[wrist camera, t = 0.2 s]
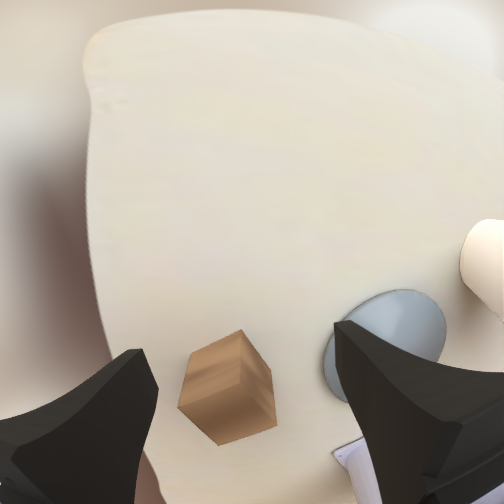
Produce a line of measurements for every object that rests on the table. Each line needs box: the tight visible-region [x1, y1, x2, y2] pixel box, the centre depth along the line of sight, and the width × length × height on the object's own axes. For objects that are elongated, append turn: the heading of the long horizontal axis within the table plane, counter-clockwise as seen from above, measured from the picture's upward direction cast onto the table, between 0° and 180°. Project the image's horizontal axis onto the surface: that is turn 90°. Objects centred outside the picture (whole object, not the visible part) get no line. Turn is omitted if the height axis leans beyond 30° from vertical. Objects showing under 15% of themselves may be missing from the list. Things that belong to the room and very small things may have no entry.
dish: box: [323, 290, 446, 403], centre depth 21 cm, size 11×11×1 cm
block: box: [177, 330, 277, 446], centre depth 19 cm, size 4×4×6 cm
